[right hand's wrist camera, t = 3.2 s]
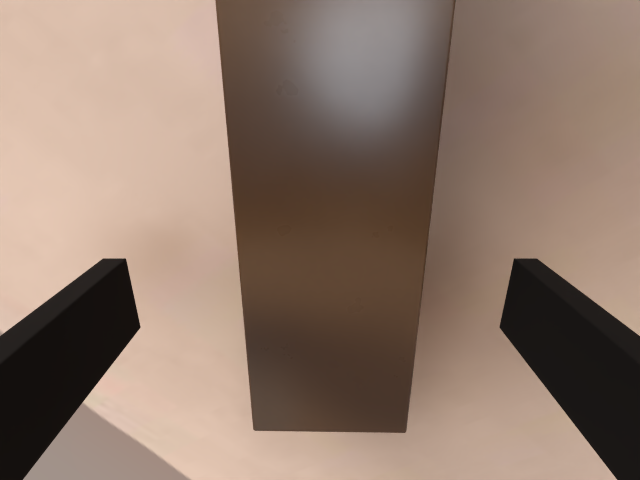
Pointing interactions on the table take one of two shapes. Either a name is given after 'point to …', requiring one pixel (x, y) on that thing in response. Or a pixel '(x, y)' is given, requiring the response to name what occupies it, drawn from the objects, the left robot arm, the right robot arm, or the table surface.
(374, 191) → the beam
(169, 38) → the table surface
